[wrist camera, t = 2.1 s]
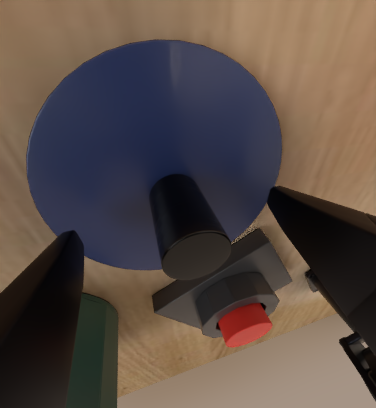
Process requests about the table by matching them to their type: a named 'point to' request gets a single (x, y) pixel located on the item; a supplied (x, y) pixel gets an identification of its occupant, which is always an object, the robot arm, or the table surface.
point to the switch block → (227, 286)
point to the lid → (155, 156)
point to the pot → (94, 356)
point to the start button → (244, 325)
